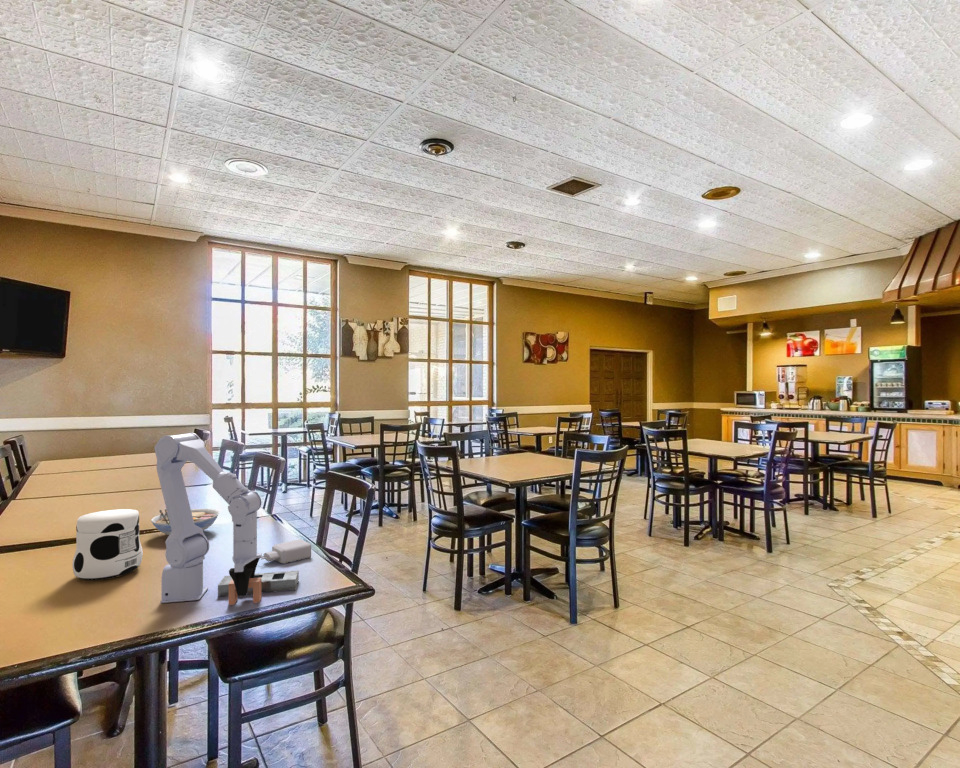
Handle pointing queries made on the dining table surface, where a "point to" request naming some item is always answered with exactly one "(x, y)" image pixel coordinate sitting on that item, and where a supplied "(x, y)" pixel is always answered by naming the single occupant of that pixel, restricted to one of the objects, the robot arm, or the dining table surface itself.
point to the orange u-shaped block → (253, 583)
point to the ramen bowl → (200, 516)
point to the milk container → (107, 544)
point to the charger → (289, 551)
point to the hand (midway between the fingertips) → (245, 589)
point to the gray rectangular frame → (266, 582)
